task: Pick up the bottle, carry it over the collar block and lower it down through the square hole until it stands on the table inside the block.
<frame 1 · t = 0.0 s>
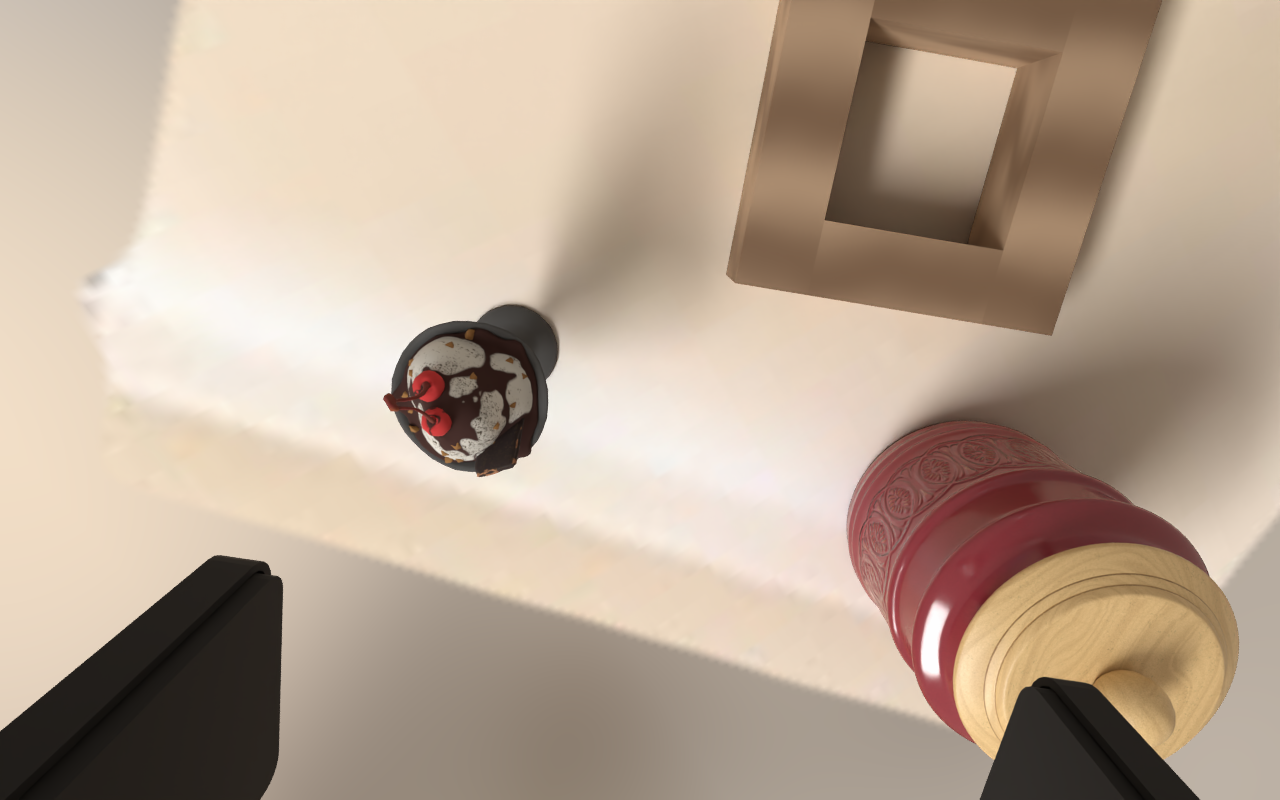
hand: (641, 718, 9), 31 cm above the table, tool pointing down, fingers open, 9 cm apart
sundae: (513, 348, 40), on the table
canister: (948, 516, 42), on the table
collar block: (908, 145, 36), on the table
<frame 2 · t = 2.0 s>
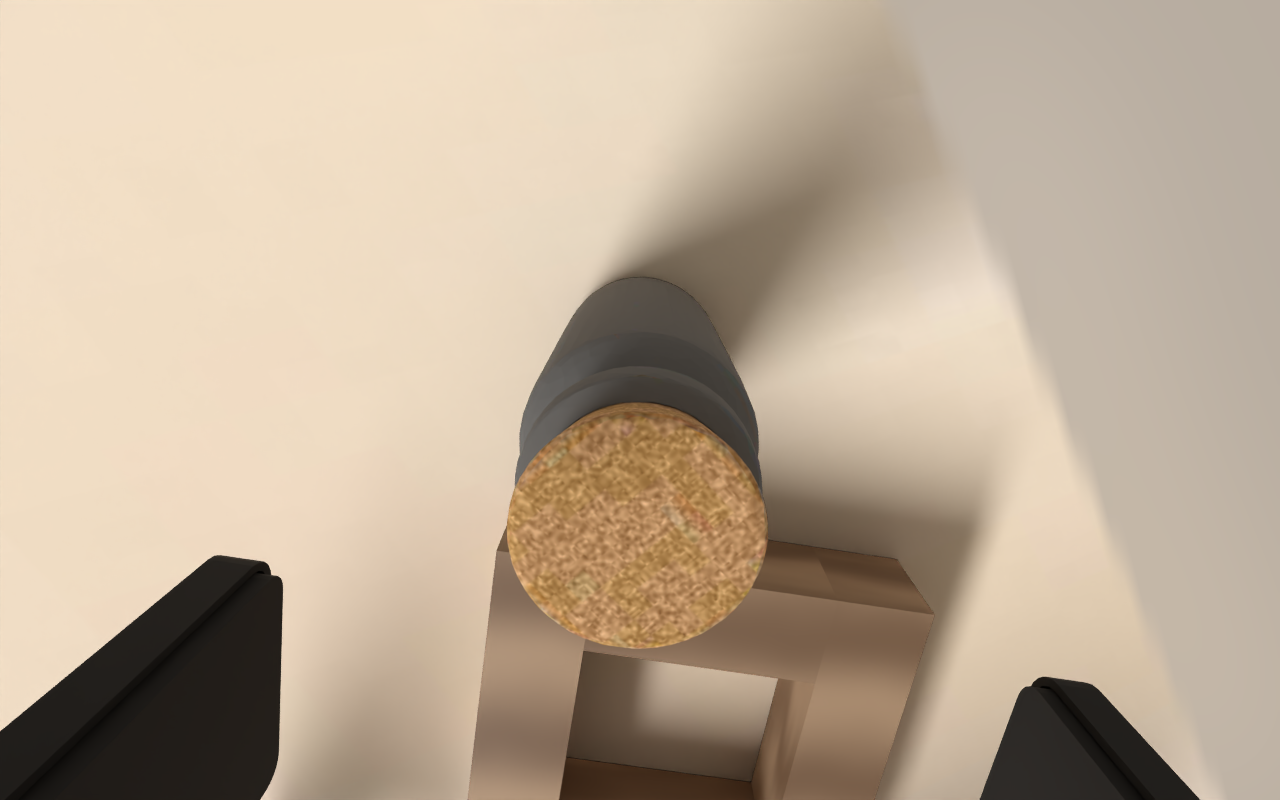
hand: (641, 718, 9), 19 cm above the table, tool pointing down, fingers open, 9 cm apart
bottle: (640, 351, 27), on the table
collar block: (674, 691, 31), on the table
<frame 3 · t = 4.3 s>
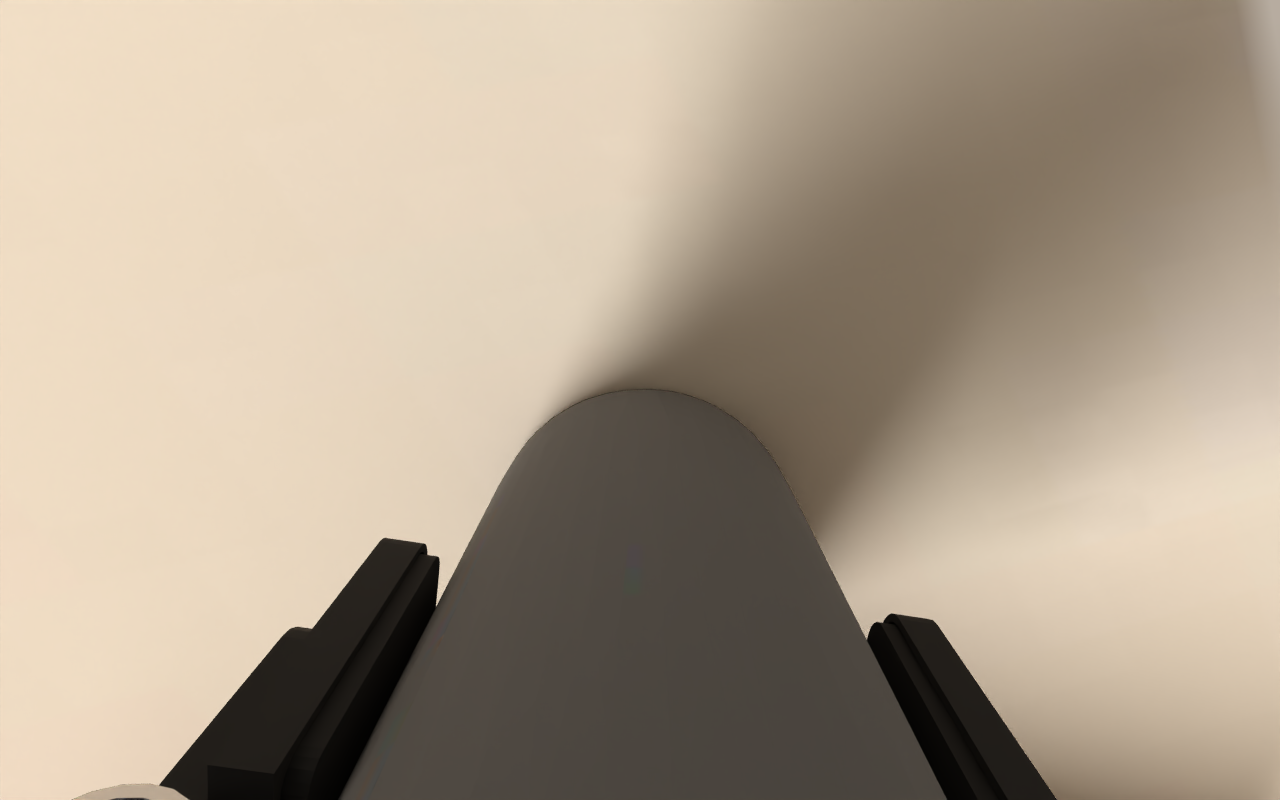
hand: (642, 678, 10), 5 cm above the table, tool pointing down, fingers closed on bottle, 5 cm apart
bottle: (643, 523, 14), on the table, touching gripper
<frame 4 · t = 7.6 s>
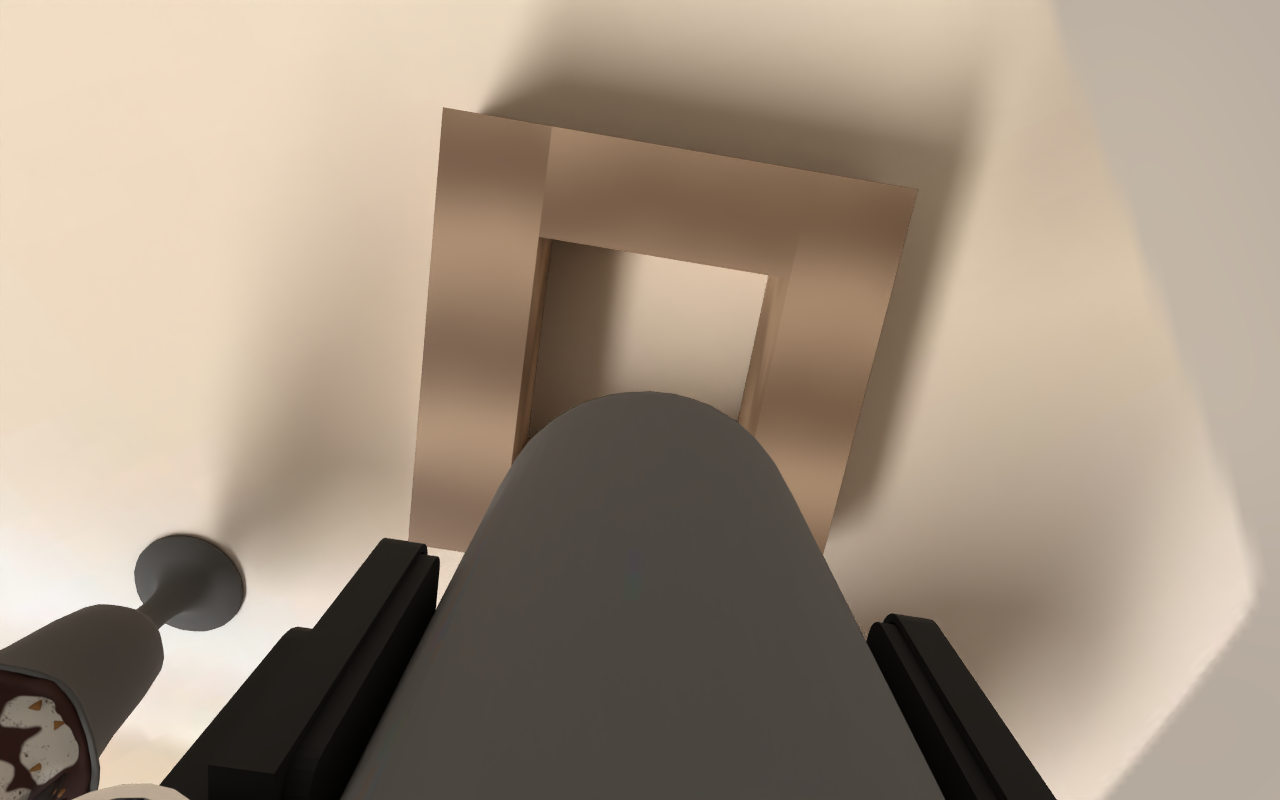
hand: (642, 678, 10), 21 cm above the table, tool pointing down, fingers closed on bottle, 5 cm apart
sundae: (191, 581, 33), on the table
bottle: (643, 525, 14), point 16 cm above the table, touching gripper
collar block: (644, 356, 29), on the table
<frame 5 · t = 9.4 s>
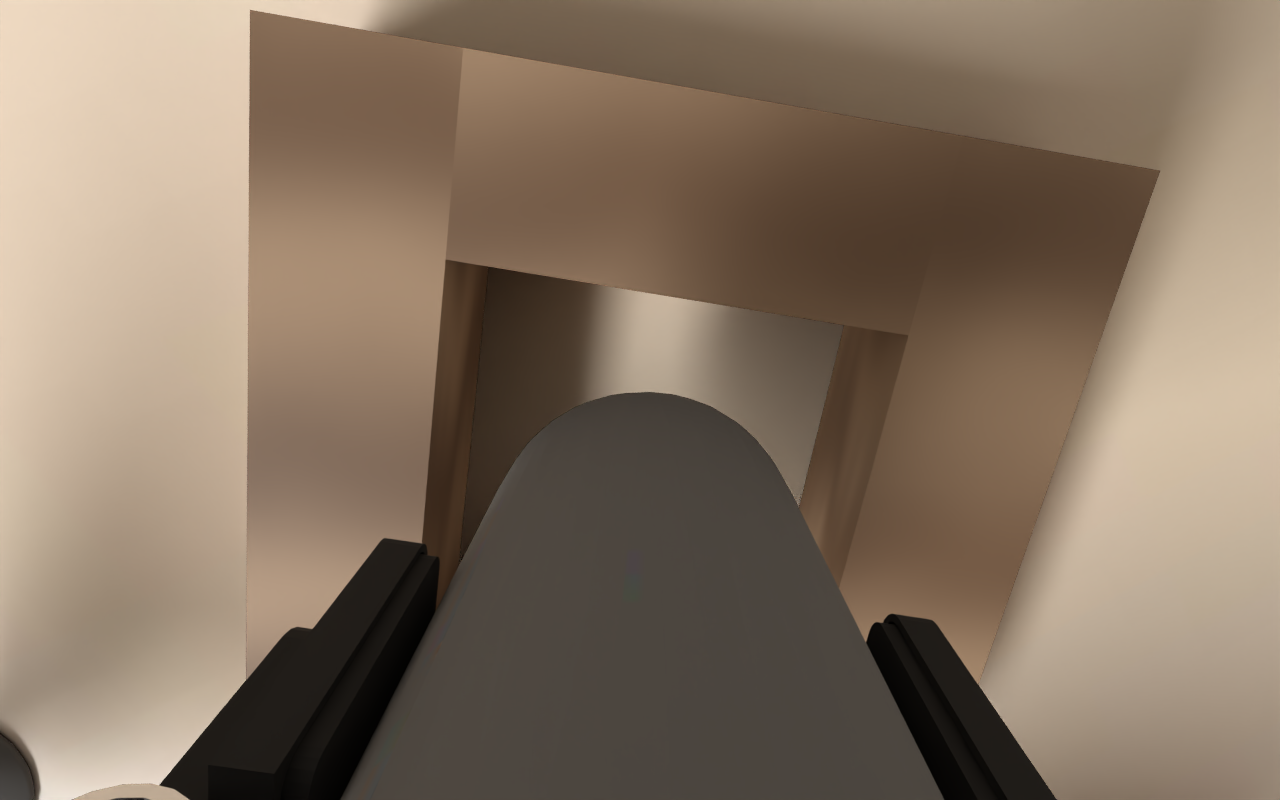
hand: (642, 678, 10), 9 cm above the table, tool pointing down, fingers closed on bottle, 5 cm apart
bottle: (643, 526, 14), point 4 cm above the table, touching gripper
collar block: (642, 443, 18), on the table
when the fingers open (6 cm above the table, at t = 11.0 s): bottle drops 1 cm, resting in collar block.
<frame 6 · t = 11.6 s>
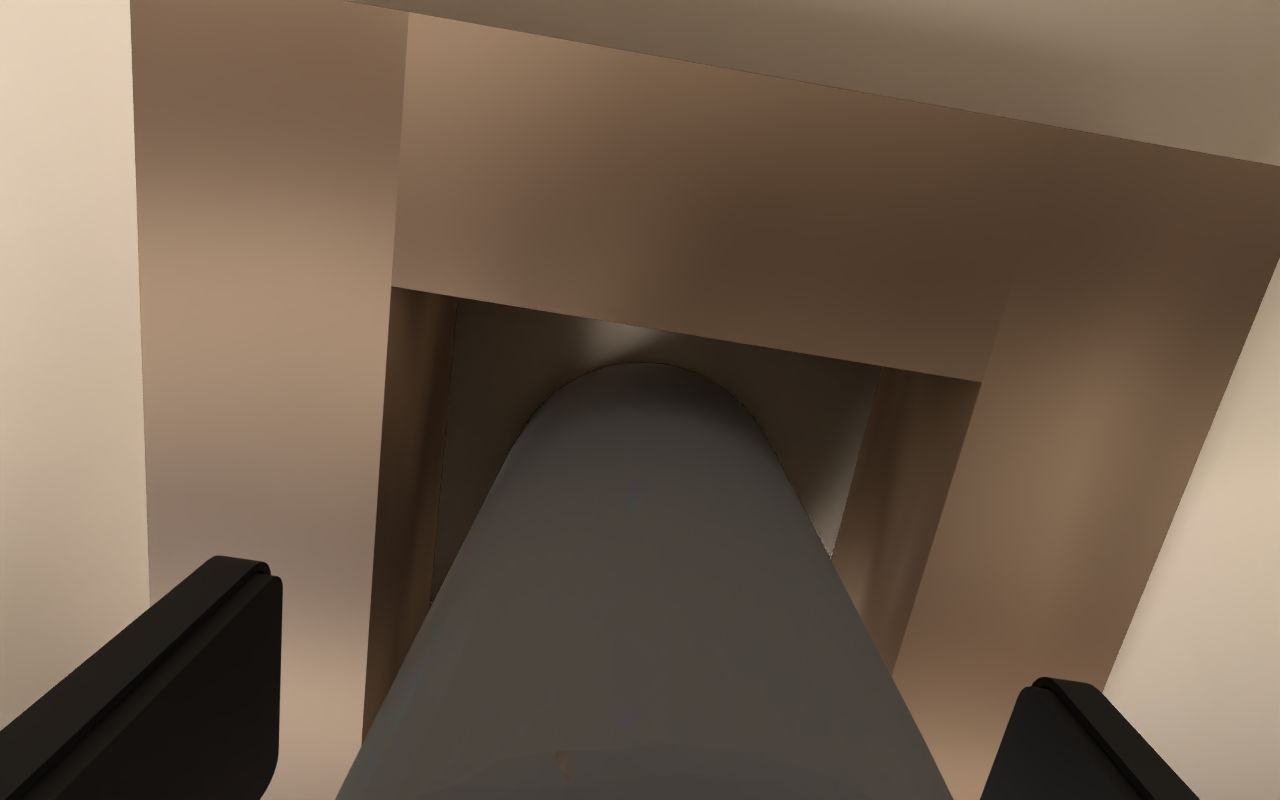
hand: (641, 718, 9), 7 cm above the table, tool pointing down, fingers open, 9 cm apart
bottle: (641, 486, 15), resting in collar block
collar block: (643, 497, 15), on the table
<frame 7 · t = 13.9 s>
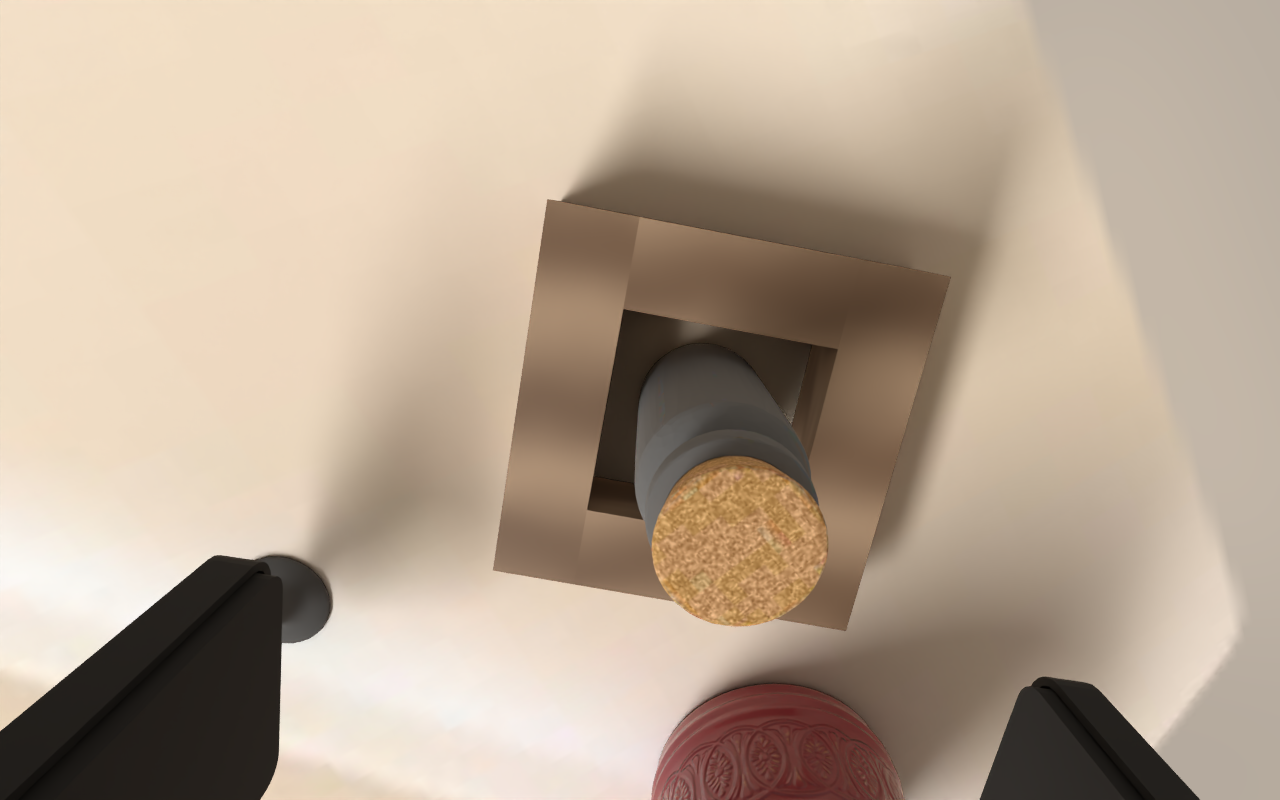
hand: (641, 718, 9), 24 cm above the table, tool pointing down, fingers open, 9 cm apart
sundae: (283, 597, 36), on the table
canister: (768, 775, 39), on the table
bottle: (700, 402, 33), resting in collar block
collar block: (701, 406, 33), on the table
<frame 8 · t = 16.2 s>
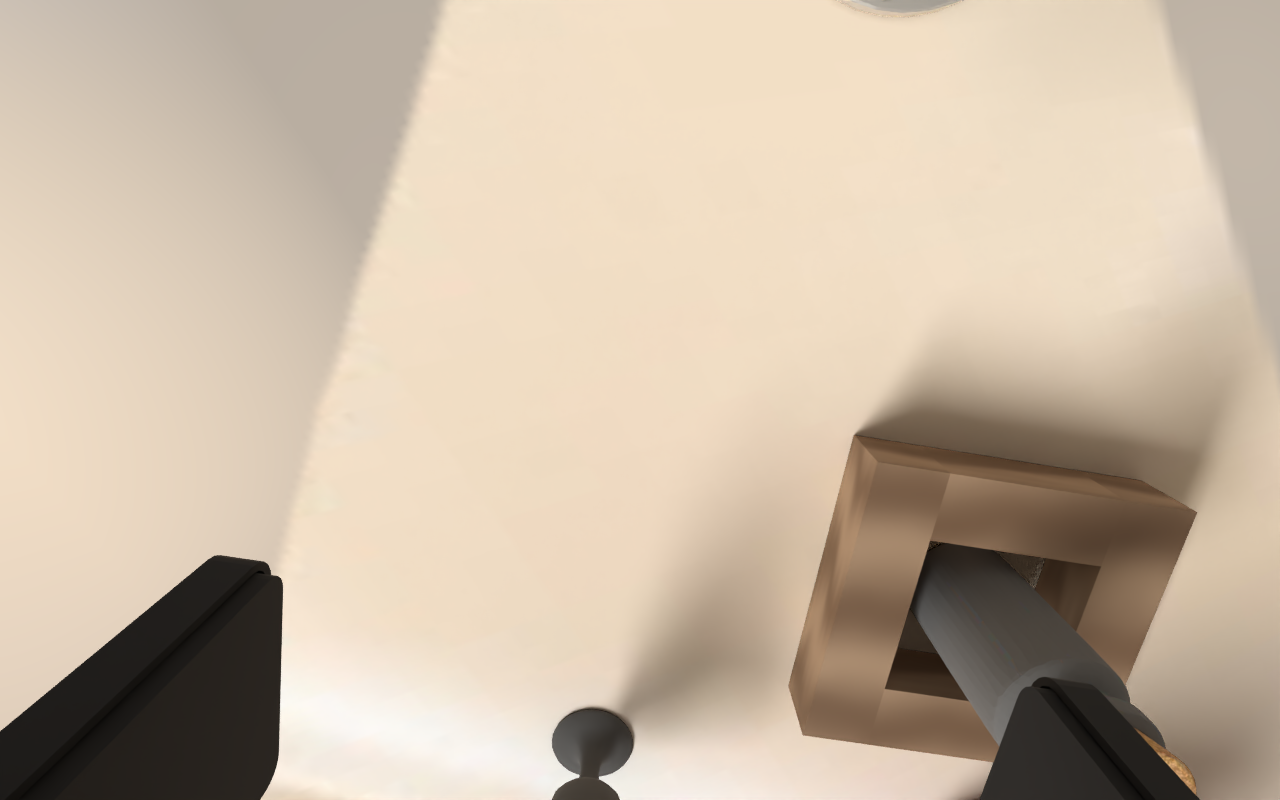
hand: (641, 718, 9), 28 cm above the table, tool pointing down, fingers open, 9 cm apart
sundae: (591, 739, 43), on the table
bottle: (954, 583, 40), resting in collar block
collar block: (956, 588, 40), on the table
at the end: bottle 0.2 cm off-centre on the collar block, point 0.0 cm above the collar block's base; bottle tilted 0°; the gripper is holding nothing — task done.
